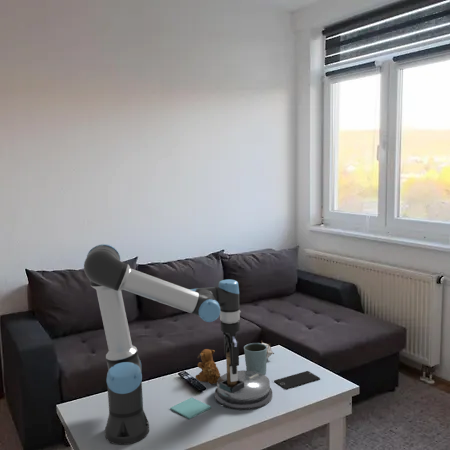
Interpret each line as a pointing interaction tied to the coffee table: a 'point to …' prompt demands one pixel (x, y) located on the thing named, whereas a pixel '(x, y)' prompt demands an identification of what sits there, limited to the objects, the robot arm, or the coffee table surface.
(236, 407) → the base
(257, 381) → the disc
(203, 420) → the coffee table surface
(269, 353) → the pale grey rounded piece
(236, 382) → the key peg
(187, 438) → the coffee table surface
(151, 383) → the coffee table surface
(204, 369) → the brown teddy bear
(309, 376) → the cell phone
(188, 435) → the coffee table surface
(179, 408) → the key mat
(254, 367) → the green cup
